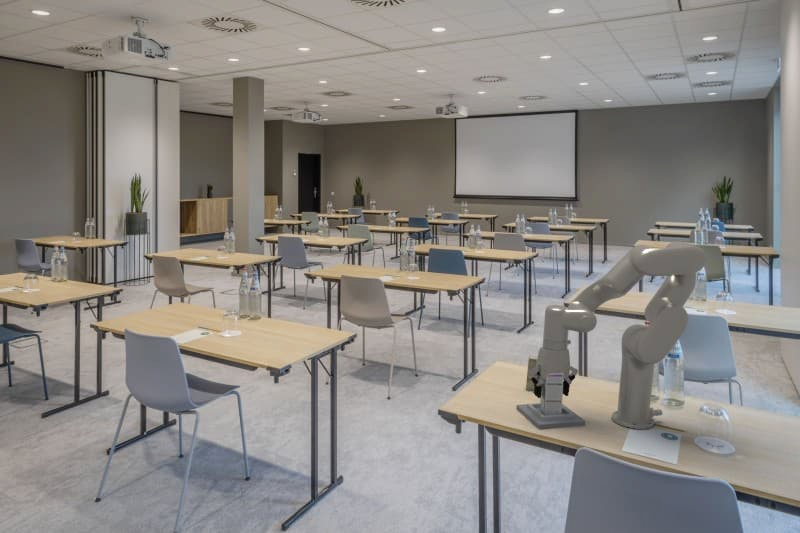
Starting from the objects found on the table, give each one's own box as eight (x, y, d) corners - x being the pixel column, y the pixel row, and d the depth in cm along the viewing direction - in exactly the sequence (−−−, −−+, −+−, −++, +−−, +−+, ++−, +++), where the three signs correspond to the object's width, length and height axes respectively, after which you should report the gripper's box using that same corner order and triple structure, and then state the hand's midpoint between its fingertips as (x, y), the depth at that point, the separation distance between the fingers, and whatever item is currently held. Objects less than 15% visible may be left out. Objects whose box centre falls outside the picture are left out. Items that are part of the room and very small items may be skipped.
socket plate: (559, 405, 199) (560, 398, 199) (585, 425, 184) (585, 417, 183) (516, 409, 195) (516, 401, 195) (538, 429, 180) (539, 421, 179)
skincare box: (525, 390, 213) (527, 357, 211) (526, 386, 217) (528, 354, 215) (543, 392, 211) (545, 360, 209) (544, 388, 215) (546, 356, 213)
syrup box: (561, 416, 186) (565, 372, 184) (543, 416, 186) (546, 372, 184) (556, 409, 192) (560, 367, 190) (539, 409, 192) (542, 366, 190)
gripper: (573, 339, 191) (569, 389, 194) (524, 342, 187) (521, 393, 190) (585, 346, 184) (581, 398, 187) (535, 348, 180) (532, 401, 183)
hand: (551, 395), depth 188 cm, fingers open, 9 cm apart
